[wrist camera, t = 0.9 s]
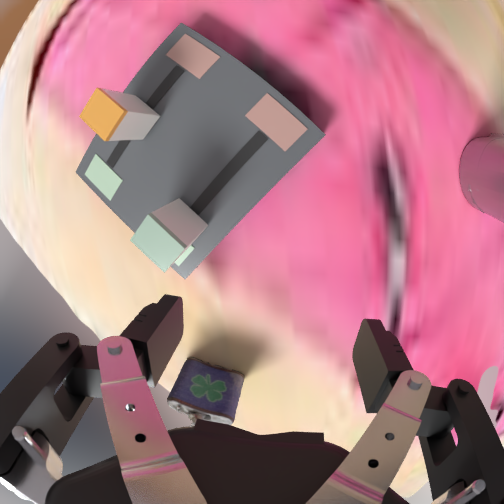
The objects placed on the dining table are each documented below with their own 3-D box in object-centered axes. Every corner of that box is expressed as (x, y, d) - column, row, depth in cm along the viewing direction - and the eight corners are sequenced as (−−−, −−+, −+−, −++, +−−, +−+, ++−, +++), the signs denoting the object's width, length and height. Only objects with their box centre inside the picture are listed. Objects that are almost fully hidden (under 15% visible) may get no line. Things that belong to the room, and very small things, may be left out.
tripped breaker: (135, 95, 23) (96, 87, 17) (160, 116, 24) (124, 111, 18) (119, 118, 24) (79, 116, 18) (143, 139, 25) (104, 141, 19)
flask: (246, 373, 39) (232, 430, 29) (241, 384, 40) (227, 440, 30) (186, 354, 39) (160, 407, 29) (184, 366, 40) (160, 418, 30)
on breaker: (179, 198, 27) (147, 214, 21) (208, 225, 27) (184, 248, 21) (162, 219, 28) (130, 240, 22) (190, 245, 29) (164, 272, 22)
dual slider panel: (190, 31, 23) (180, 22, 20) (322, 136, 26) (325, 134, 23) (90, 168, 31) (75, 172, 28) (193, 268, 33) (184, 279, 31)
